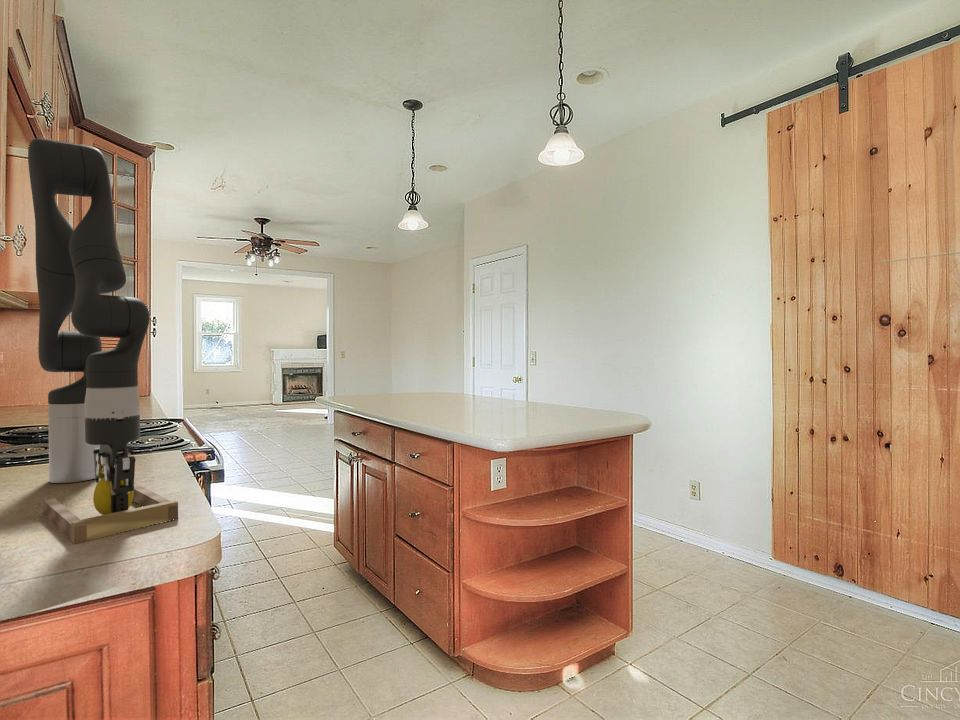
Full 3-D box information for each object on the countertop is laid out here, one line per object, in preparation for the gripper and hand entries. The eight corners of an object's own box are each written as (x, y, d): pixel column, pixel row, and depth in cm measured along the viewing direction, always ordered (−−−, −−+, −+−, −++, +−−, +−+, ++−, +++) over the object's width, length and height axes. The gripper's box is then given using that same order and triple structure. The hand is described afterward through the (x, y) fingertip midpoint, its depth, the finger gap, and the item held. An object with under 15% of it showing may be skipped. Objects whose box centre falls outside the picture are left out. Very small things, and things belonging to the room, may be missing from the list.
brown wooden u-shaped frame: (42, 513, 88) (42, 496, 88) (135, 495, 98) (135, 480, 98) (74, 543, 74) (73, 523, 74) (178, 519, 85) (178, 501, 85)
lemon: (112, 525, 81) (112, 476, 81) (84, 523, 82) (84, 475, 82) (142, 514, 86) (141, 469, 86) (115, 512, 88) (115, 467, 87)
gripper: (74, 412, 86) (75, 509, 86) (97, 419, 77) (99, 528, 77) (125, 408, 91) (126, 499, 92) (153, 414, 82) (154, 516, 83)
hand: (114, 512), depth 84 cm, fingers closed on lemon, 5 cm apart
